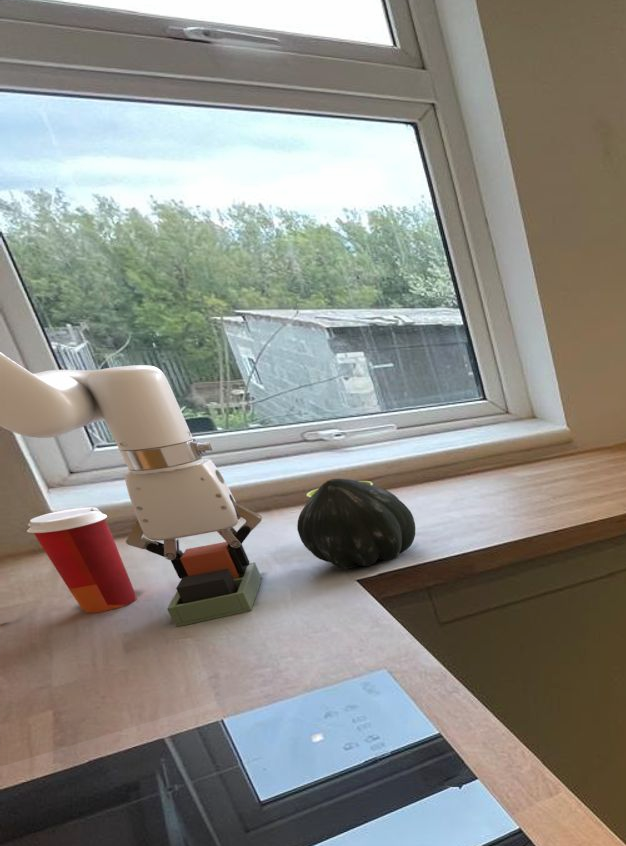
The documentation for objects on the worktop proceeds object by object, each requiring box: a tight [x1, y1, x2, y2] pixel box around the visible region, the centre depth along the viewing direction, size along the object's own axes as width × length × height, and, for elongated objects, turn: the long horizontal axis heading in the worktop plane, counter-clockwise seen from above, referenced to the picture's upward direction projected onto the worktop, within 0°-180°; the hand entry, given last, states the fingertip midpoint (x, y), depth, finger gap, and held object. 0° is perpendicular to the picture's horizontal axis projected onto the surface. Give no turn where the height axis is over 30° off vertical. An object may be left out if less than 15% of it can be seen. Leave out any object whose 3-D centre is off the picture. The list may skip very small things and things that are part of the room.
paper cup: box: [26, 506, 137, 614], centre depth 116 cm, size 8×8×14 cm
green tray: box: [166, 561, 263, 628], centre depth 118 cm, size 8×15×3 cm, turn 36°
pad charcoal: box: [175, 569, 238, 604], centre depth 115 cm, size 5×5×4 cm
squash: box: [296, 478, 416, 569], centre depth 130 cm, size 14×15×15 cm
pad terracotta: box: [180, 541, 240, 579], centre depth 119 cm, size 5×5×4 cm
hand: (217, 575), depth 120 cm, fingers closed on pad terracotta, 5 cm apart
